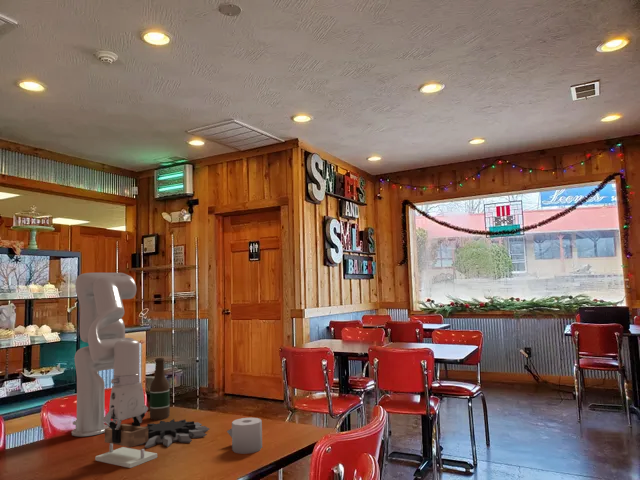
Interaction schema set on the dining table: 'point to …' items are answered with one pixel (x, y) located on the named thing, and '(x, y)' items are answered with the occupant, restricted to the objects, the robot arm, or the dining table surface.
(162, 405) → the beer bottle
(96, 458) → the panel
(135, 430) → the frame
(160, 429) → the decorative piece
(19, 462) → the dining table surface
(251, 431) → the toilet tissue
